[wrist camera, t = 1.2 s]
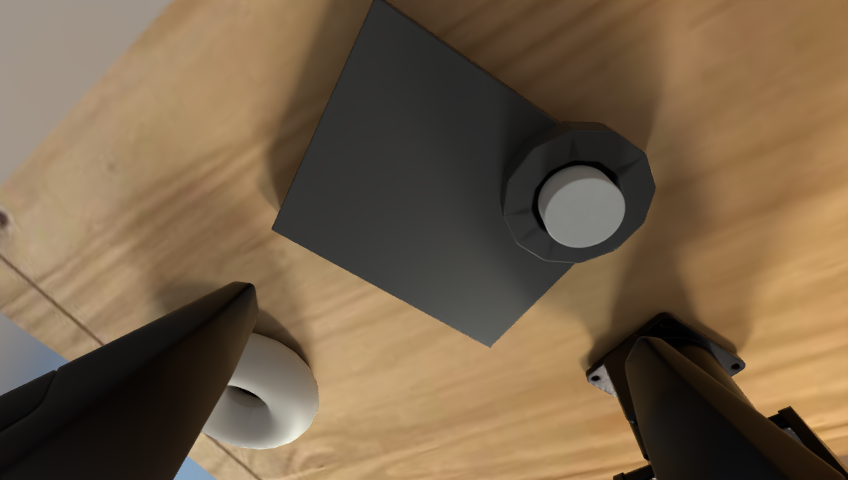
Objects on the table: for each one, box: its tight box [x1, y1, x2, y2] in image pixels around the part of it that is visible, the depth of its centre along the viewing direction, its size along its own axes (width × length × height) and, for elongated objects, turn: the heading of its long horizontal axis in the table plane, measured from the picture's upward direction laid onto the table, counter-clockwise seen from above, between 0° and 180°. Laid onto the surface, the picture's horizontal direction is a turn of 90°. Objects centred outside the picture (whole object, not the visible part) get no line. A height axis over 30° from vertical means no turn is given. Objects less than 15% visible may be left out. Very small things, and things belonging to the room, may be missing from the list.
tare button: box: [538, 165, 625, 247], centre depth 15 cm, size 3×3×2 cm
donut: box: [202, 333, 319, 449], centre depth 26 cm, size 10×3×10 cm
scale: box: [272, 0, 655, 347], centre depth 18 cm, size 14×13×3 cm
